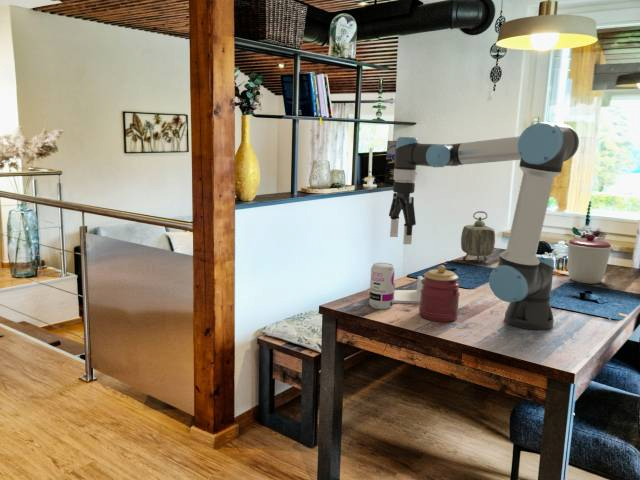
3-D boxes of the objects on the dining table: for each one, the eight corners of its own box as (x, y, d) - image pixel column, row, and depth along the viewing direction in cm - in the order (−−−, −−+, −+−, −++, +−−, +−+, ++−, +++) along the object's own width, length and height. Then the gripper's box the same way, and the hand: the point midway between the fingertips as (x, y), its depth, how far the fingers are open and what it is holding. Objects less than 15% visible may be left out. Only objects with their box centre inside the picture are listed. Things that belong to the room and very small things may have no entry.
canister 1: (429, 323, 180) (433, 270, 177) (412, 311, 192) (415, 261, 189) (465, 321, 183) (469, 269, 180) (446, 309, 196) (449, 260, 192)
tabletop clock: (487, 259, 279) (492, 210, 274) (494, 264, 270) (499, 213, 265) (459, 259, 278) (463, 209, 273) (465, 263, 269) (469, 212, 264)
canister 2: (568, 284, 235) (574, 235, 231) (558, 274, 253) (563, 228, 249) (614, 288, 232) (620, 238, 228) (600, 277, 250) (606, 231, 246)
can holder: (428, 303, 201) (429, 285, 200) (390, 303, 201) (391, 284, 200) (420, 292, 215) (421, 275, 214) (384, 292, 215) (385, 274, 213)
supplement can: (391, 303, 200) (394, 263, 198) (392, 310, 192) (395, 268, 190) (369, 302, 201) (371, 261, 198) (369, 309, 193) (371, 267, 190)
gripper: (428, 185, 185) (423, 247, 189) (401, 178, 209) (397, 233, 213) (407, 184, 184) (402, 247, 188) (382, 178, 207) (379, 233, 212)
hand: (400, 240), depth 200 cm, fingers open, 13 cm apart
